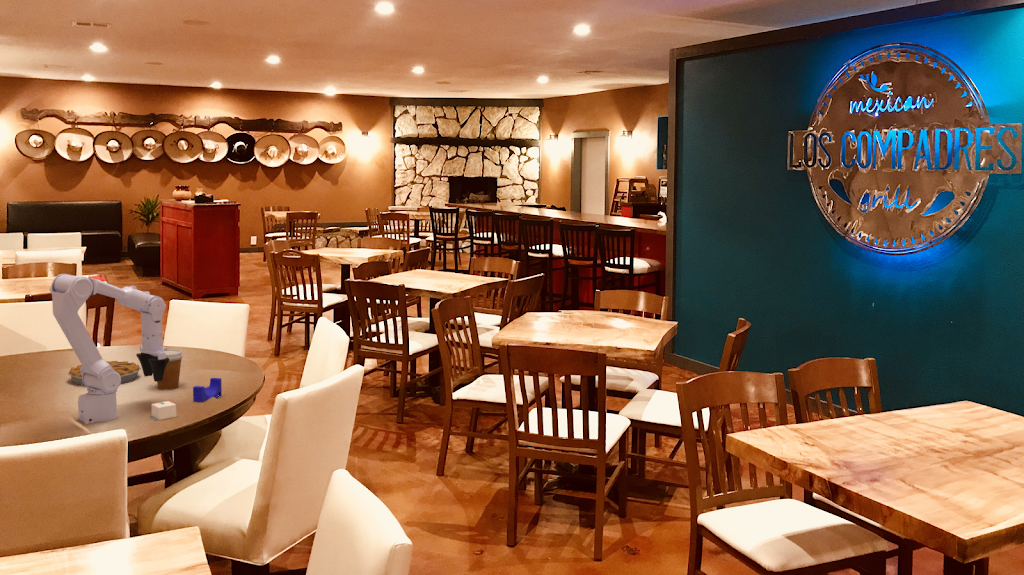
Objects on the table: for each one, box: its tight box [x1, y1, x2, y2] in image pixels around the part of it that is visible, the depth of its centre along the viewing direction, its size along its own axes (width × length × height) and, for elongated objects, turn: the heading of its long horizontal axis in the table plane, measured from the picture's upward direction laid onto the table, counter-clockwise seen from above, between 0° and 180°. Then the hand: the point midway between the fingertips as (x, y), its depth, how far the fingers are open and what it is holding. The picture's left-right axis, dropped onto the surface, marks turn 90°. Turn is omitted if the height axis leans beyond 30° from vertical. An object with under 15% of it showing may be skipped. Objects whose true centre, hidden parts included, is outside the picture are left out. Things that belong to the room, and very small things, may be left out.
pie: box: [67, 360, 142, 386], centre depth 276 cm, size 22×22×5 cm
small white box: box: [151, 400, 177, 421], centre depth 234 cm, size 5×5×4 cm
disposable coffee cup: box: [156, 348, 184, 390], centre depth 268 cm, size 10×10×12 cm
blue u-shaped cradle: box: [192, 377, 223, 403], centre depth 255 cm, size 12×4×6 cm, turn 172°
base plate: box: [148, 413, 179, 422], centre depth 234 cm, size 7×5×1 cm
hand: (153, 378), depth 244 cm, fingers open, 7 cm apart
